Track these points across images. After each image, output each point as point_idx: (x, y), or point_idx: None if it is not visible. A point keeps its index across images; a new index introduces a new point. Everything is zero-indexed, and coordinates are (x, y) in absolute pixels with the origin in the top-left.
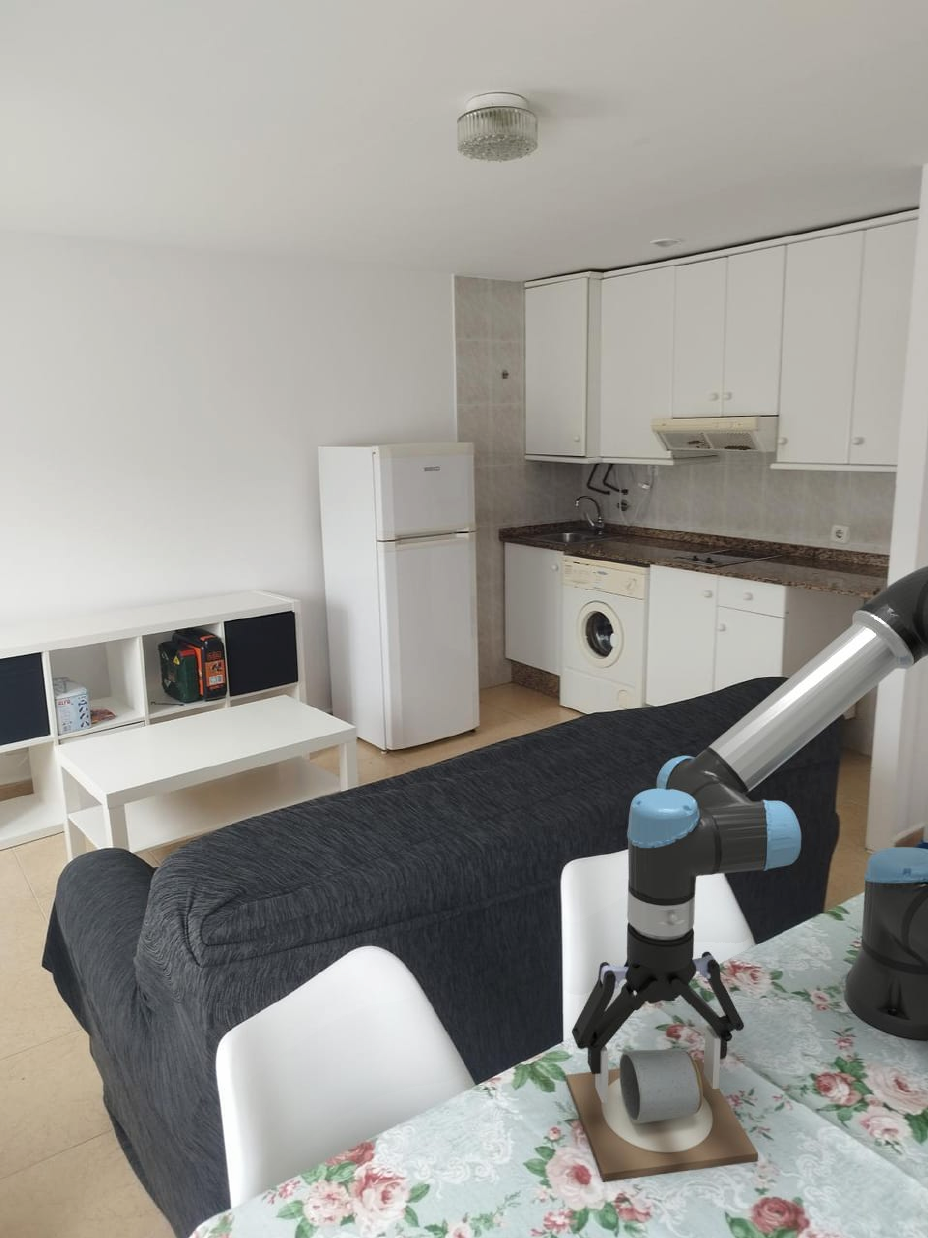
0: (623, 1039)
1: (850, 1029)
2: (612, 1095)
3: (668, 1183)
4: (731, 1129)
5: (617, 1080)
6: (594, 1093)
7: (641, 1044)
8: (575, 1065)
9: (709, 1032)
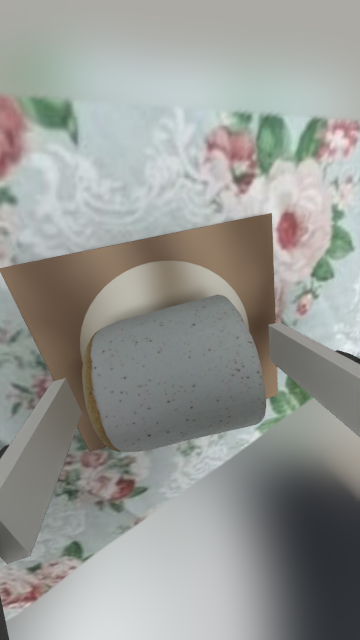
0: (190, 463)
1: None
2: None
3: (167, 213)
4: (48, 321)
5: None
6: None
7: (169, 460)
8: None
9: (13, 535)
